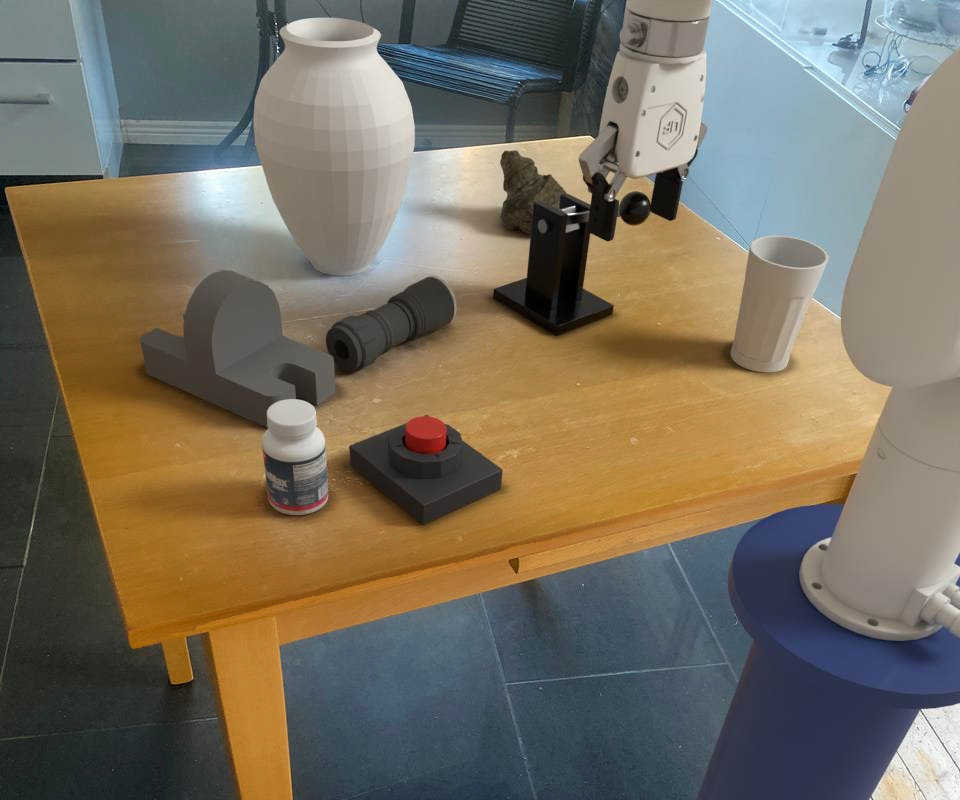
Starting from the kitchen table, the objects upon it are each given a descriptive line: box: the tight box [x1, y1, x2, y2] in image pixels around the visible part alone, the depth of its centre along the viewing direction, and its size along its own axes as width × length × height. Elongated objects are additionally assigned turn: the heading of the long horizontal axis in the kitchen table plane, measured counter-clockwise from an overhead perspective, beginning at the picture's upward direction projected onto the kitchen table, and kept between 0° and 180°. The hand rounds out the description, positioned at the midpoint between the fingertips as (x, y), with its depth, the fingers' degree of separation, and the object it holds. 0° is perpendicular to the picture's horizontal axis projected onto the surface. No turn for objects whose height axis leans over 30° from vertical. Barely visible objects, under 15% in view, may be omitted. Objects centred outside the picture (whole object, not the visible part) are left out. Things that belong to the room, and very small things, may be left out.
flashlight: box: [325, 275, 458, 372], centre depth 104 cm, size 15×5×5 cm, turn 141°
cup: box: [730, 235, 829, 373], centre depth 105 cm, size 8×8×12 cm
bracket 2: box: [492, 192, 615, 337], centre depth 111 cm, size 11×9×12 cm
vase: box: [253, 17, 416, 277], centre depth 111 cm, size 18×18×25 cm
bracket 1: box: [139, 269, 336, 429], centre depth 96 cm, size 10×18×11 cm, turn 57°
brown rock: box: [499, 149, 567, 235], centre depth 128 cm, size 11×12×10 cm
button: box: [405, 415, 446, 454], centre depth 87 cm, size 4×4×2 cm
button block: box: [348, 414, 504, 526], centre depth 88 cm, size 11×9×4 cm
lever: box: [558, 190, 651, 233], centre depth 104 cm, size 14×3×3 cm, turn 40°
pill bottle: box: [261, 398, 329, 516], centre depth 83 cm, size 5×5×9 cm
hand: (631, 225), depth 101 cm, fingers open, 8 cm apart
